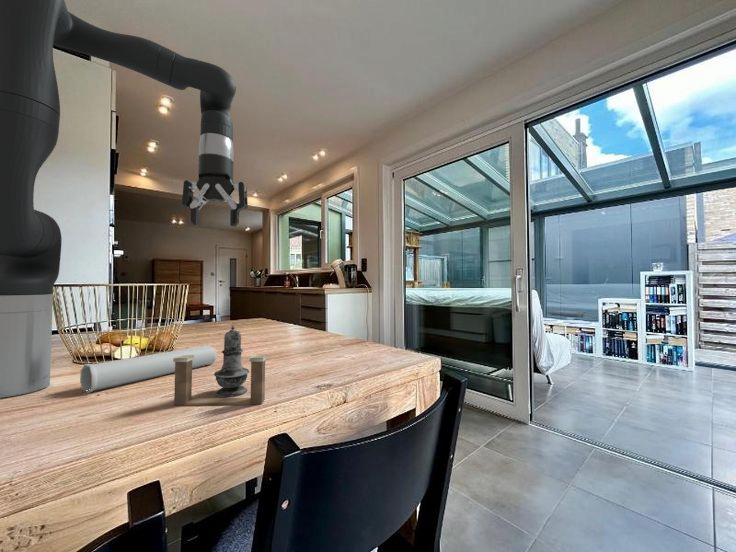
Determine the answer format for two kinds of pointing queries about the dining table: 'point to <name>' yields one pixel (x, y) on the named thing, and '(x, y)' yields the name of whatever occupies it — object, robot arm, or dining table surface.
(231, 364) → the salt shaker
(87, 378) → the tube
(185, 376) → the walnut gate
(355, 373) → the dining table surface
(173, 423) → the dining table surface
